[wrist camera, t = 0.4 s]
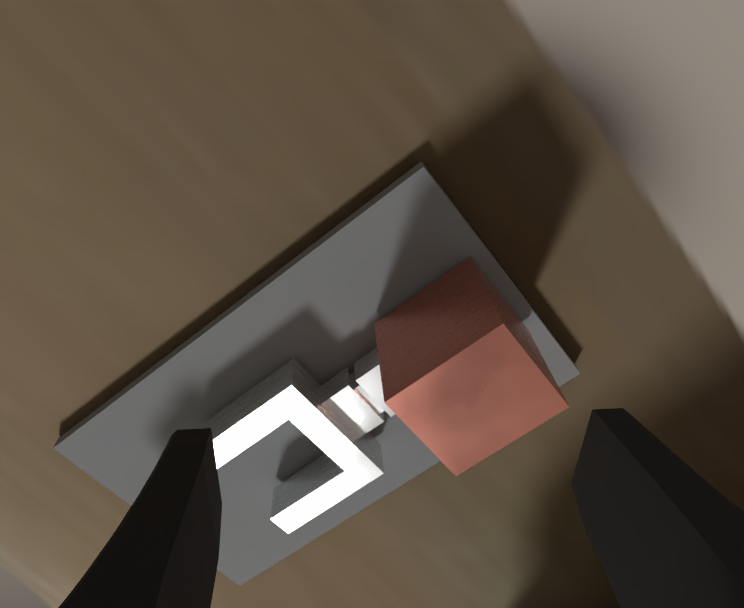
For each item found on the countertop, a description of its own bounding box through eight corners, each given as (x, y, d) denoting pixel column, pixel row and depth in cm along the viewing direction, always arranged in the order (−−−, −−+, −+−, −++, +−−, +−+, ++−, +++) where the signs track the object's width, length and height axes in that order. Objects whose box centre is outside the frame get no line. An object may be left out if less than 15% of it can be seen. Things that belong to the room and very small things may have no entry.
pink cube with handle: (290, 502, 26) (283, 600, 22) (199, 425, 24) (175, 518, 20) (538, 342, 24) (581, 421, 20) (458, 240, 22) (488, 305, 18)
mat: (241, 574, 29) (239, 585, 29) (58, 437, 25) (53, 448, 25) (575, 364, 25) (580, 373, 25) (420, 161, 21) (423, 166, 21)
